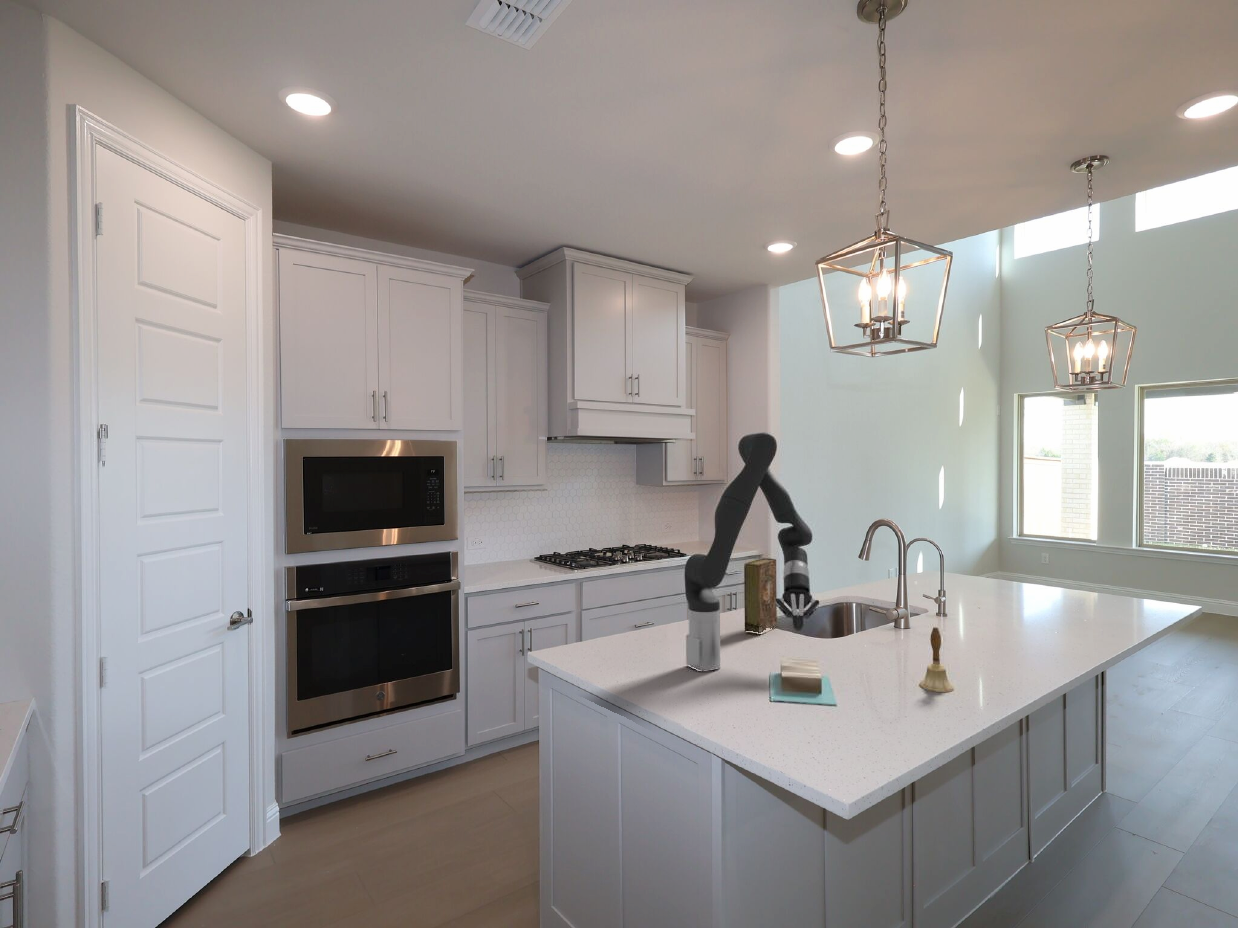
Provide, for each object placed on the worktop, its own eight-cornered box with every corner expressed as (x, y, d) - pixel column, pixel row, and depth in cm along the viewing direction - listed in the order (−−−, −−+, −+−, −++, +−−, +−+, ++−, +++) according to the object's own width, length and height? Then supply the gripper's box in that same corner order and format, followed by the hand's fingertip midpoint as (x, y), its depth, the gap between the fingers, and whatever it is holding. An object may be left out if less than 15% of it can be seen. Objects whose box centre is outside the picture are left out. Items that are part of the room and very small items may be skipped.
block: (817, 674, 185) (821, 693, 169) (780, 672, 187) (782, 691, 172) (816, 660, 185) (821, 678, 169) (780, 658, 187) (781, 675, 172)
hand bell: (958, 693, 170) (957, 631, 170) (924, 691, 171) (923, 630, 171) (948, 682, 178) (947, 624, 178) (915, 681, 180) (914, 623, 180)
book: (764, 624, 245) (763, 557, 245) (778, 626, 241) (777, 558, 242) (744, 633, 232) (744, 563, 232) (759, 636, 228) (758, 564, 228)
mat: (836, 705, 162) (836, 703, 162) (770, 701, 165) (770, 699, 165) (828, 677, 183) (828, 675, 183) (770, 673, 187) (770, 672, 187)
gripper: (773, 570, 197) (774, 621, 185) (819, 572, 194) (823, 623, 182) (773, 585, 202) (774, 635, 190) (818, 587, 199) (821, 637, 187)
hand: (798, 629), depth 186 cm, fingers closed
